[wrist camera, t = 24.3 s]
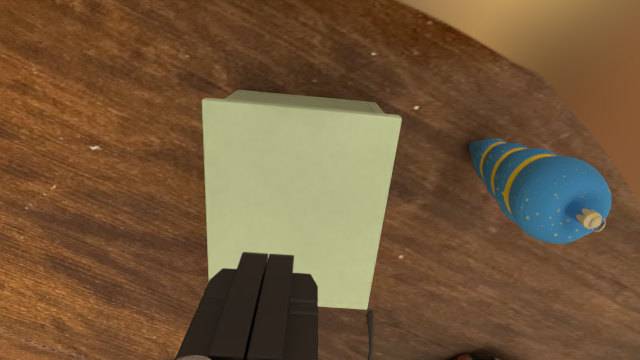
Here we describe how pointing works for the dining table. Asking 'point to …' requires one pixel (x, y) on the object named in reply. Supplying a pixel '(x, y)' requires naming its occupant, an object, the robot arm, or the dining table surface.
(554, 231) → the ornament
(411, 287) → the dining table surface
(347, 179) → the lid
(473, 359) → the lucky cat figurine
